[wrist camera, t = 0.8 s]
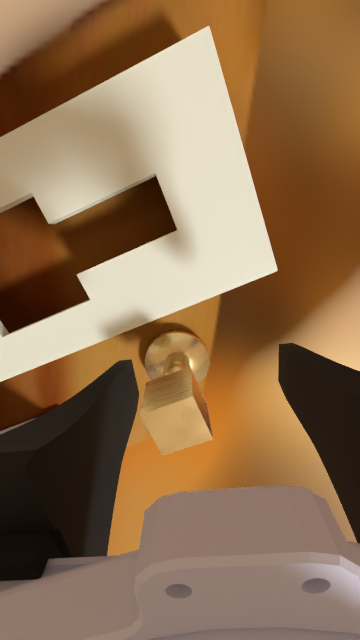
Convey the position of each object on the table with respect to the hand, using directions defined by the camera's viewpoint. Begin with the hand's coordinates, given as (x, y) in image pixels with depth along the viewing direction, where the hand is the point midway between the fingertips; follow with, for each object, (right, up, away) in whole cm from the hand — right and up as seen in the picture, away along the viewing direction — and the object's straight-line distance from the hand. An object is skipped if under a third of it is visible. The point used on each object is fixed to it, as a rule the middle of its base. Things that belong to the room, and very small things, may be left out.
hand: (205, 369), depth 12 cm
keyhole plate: (-8, +9, +8) cm, 15 cm away
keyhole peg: (-2, -1, +12) cm, 12 cm away
